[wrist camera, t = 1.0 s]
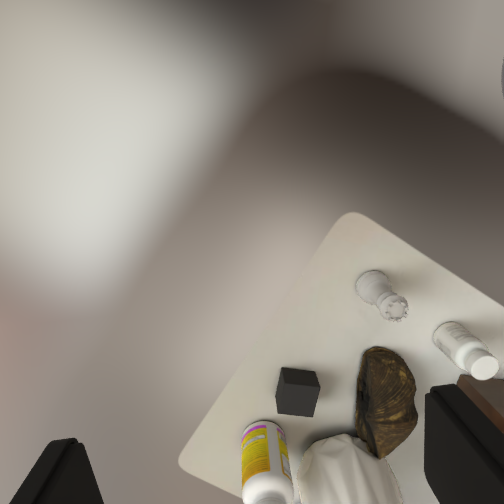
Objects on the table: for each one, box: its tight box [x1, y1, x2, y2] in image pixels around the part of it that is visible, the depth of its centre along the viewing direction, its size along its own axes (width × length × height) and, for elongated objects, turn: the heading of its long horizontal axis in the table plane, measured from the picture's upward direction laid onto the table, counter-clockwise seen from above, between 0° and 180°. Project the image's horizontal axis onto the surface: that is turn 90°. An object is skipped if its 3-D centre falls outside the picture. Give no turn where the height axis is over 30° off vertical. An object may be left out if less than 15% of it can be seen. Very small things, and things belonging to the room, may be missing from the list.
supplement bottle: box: [242, 421, 294, 504], centre depth 46 cm, size 7×7×13 cm
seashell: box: [355, 347, 418, 460], centre depth 48 cm, size 16×9×7 cm, turn 3°
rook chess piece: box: [356, 271, 409, 322], centre depth 42 cm, size 4×4×8 cm
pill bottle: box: [434, 322, 499, 380], centre depth 44 cm, size 4×4×8 cm
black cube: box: [275, 368, 320, 417], centre depth 48 cm, size 5×5×4 cm
